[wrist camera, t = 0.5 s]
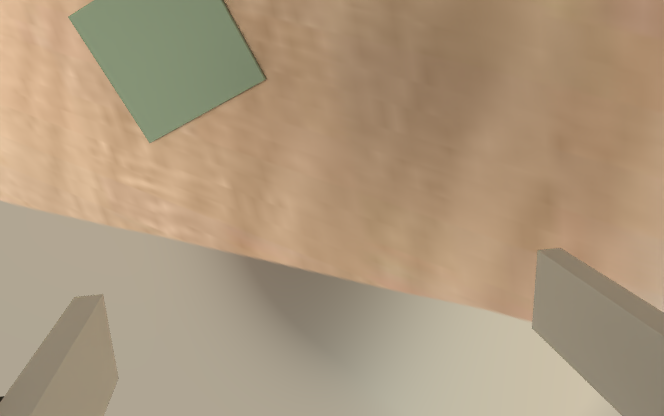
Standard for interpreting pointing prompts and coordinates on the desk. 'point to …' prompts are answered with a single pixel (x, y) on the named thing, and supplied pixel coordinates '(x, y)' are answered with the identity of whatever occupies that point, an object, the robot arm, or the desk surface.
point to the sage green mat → (168, 57)
